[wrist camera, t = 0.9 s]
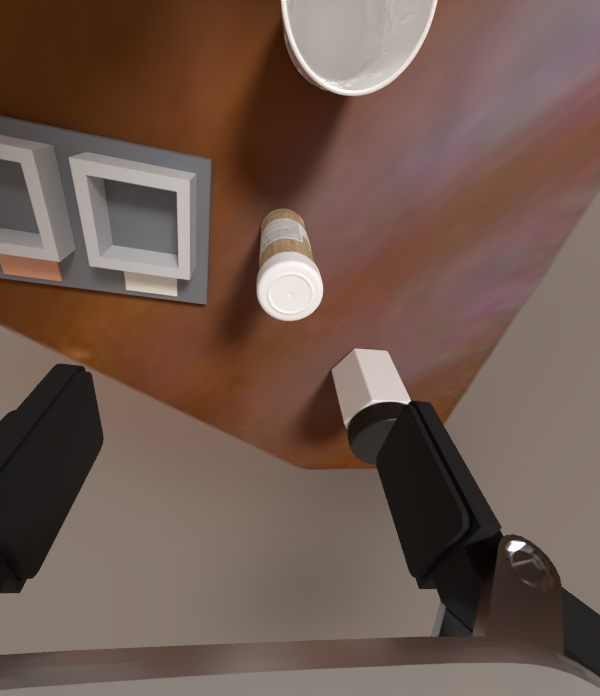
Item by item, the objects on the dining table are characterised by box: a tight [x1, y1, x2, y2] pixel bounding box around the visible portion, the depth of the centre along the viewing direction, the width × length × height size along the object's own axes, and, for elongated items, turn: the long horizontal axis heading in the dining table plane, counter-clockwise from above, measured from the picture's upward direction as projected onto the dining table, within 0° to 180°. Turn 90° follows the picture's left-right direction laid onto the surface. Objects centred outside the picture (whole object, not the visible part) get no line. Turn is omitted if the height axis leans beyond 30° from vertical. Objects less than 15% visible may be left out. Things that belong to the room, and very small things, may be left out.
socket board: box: [0, 115, 213, 305], centre depth 29 cm, size 14×22×4 cm, turn 79°
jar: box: [332, 348, 411, 465], centre depth 40 cm, size 9×8×12 cm
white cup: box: [281, 0, 437, 96], centre depth 20 cm, size 8×8×10 cm
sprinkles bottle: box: [257, 208, 323, 321], centre depth 27 cm, size 5×5×13 cm
